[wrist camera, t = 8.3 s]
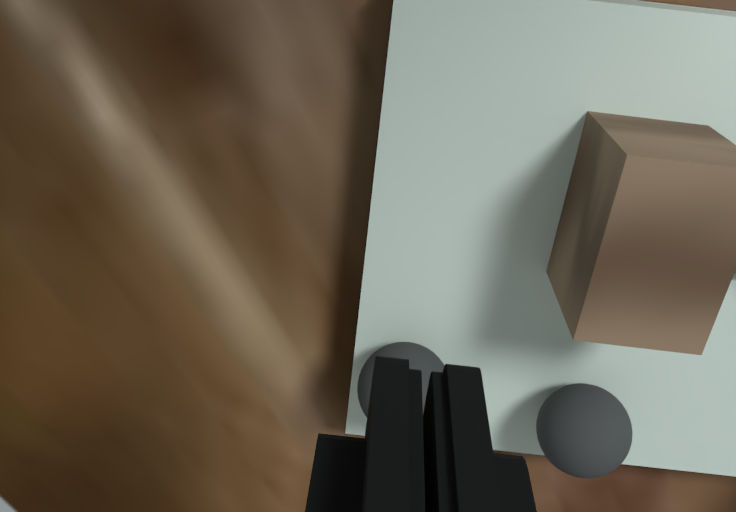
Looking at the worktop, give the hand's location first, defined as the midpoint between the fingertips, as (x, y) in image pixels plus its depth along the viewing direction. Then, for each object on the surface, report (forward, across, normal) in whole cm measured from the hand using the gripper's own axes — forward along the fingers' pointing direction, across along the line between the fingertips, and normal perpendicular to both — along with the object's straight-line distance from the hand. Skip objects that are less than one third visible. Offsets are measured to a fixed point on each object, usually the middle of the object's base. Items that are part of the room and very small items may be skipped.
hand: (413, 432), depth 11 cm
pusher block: (+14, -8, +1) cm, 16 cm away
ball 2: (+12, -8, +10) cm, 17 cm away
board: (+16, -10, +4) cm, 19 cm away
